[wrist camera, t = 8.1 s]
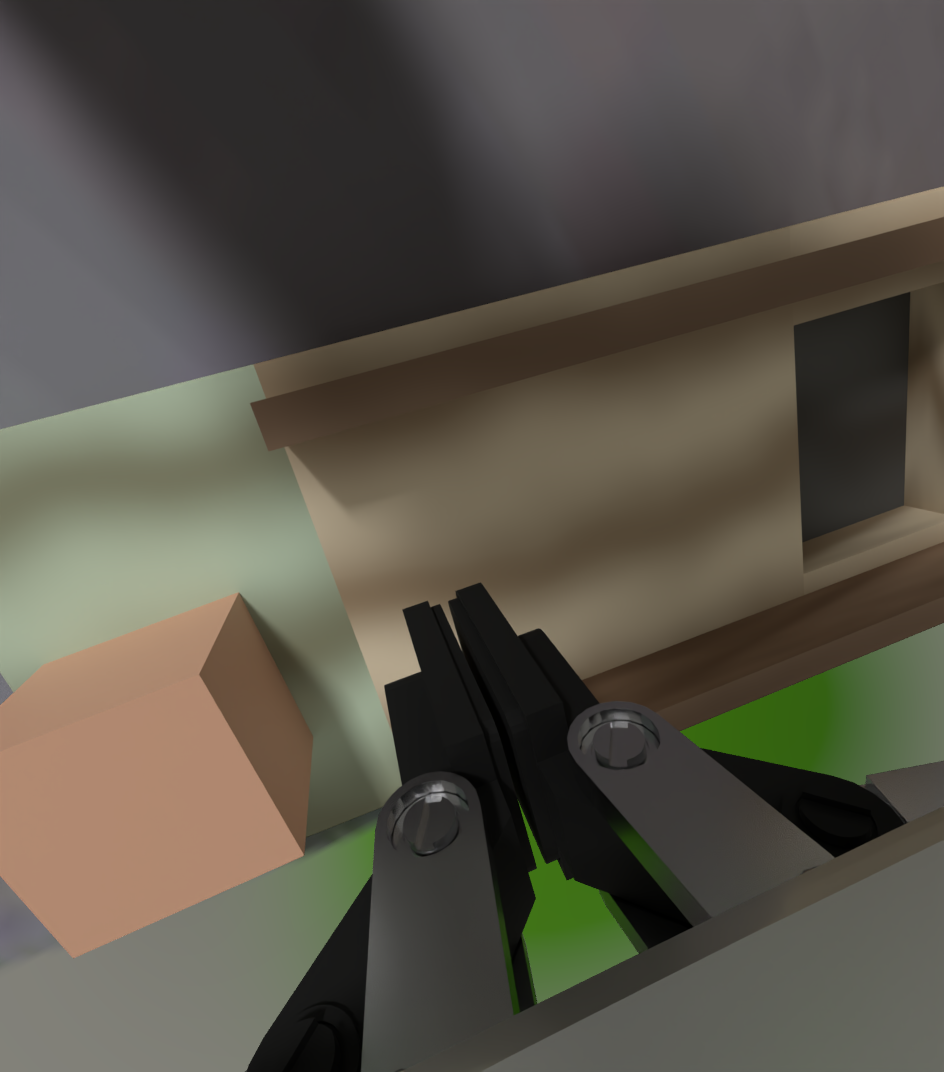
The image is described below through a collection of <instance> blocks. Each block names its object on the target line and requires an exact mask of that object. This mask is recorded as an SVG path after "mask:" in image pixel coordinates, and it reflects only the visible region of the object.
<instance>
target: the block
mask: <svg viewBox="0 0 944 1072" xmlns="http://www.w3.org/2000/svg"><path fill="white" fill-rule="evenodd" d="M312 747H313V735H312V733H311V731H310V729H309V727H308V726H307V724H306V722H305V720H304V718H303V716H302V714H301V712H300V710H299V708H298V706H297V704H296V702H295V700H294V698H293V696H292V694H291V692H290V691H289V689H288V687H287V685H286V683H285V681H284V679H283V677H282V675H281V673H280V671H279V669H278V667H277V665H276V663H275V661H274V659H273V658H272V656H271V654H270V652H269V650H268V648H267V646H266V644H265V642H264V640H263V638H262V636H261V634H260V632H259V630H258V628H257V626H256V625H255V623H254V621H253V619H252V617H251V615H250V613H249V611H248V609H247V607H246V605H245V603H244V601H243V599H242V597H241V595H240V593H239V592H238V593H235V594H232V595H230V596H227V597H224V598H222V599H219V600H216V601H214V602H211V603H208V604H205V605H203V606H200V607H197V608H195V609H192V610H189V611H187V612H184V613H181V614H178V615H176V616H173V617H170V618H168V619H165V620H162V621H160V622H157V623H154V624H151V625H149V626H146V627H143V628H141V629H138V630H135V631H133V632H130V633H127V634H124V635H122V636H119V637H116V638H114V639H111V640H108V641H106V642H103V643H100V644H97V645H95V646H92V647H89V648H87V649H84V650H81V651H79V652H76V653H73V654H71V655H68V656H65V657H62V658H60V659H57V660H54V661H52V662H49V663H46V664H44V665H42V666H41V667H40V668H39V669H38V670H37V671H36V672H35V673H34V674H33V675H32V676H31V677H30V678H29V679H28V680H26V681H25V682H24V683H23V684H22V685H21V686H20V687H19V688H18V689H17V690H16V691H15V692H14V693H13V694H12V695H11V696H10V697H9V698H7V699H6V700H5V701H4V702H3V703H2V704H1V705H0V876H1V877H2V878H3V880H4V881H5V882H6V883H7V884H8V885H9V886H10V887H11V889H12V890H13V891H14V892H15V893H16V894H17V895H18V897H19V898H20V899H21V900H22V901H23V902H24V903H25V904H26V906H27V907H28V908H29V909H30V910H31V911H32V912H33V914H34V915H35V916H36V917H37V918H38V919H39V920H40V921H41V923H42V924H43V925H44V926H45V927H46V928H47V929H48V930H49V932H50V933H51V934H52V935H53V936H54V937H55V938H56V940H57V941H58V942H59V943H60V944H61V945H62V946H63V947H64V949H65V950H66V951H67V952H68V953H69V954H70V955H71V957H73V958H75V957H78V956H80V955H82V954H84V953H86V952H89V951H91V950H93V949H96V948H98V947H100V946H102V945H104V944H107V943H109V942H111V941H113V940H116V939H118V938H120V937H122V936H125V935H127V934H129V933H131V932H134V931H136V930H138V929H140V928H142V927H145V926H147V925H149V924H152V923H154V922H156V921H158V920H161V919H163V918H165V917H167V916H170V915H172V914H174V913H176V912H179V911H181V910H183V909H185V908H188V907H190V906H192V905H194V904H197V903H199V902H201V901H203V900H206V899H208V898H210V897H212V896H215V895H217V894H219V893H221V892H223V891H226V890H228V889H230V888H232V887H235V886H237V885H239V884H241V883H244V882H246V881H248V880H250V879H253V878H255V877H257V876H259V875H262V874H264V873H266V872H268V871H271V870H273V869H275V868H277V867H280V866H282V865H284V864H286V863H289V862H291V861H293V860H295V859H298V858H300V857H302V856H304V853H305V840H306V826H307V813H308V800H309V787H310V774H311V761H312Z"/></svg>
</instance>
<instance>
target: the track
mask: <svg viewBox="0 0 944 1072" xmlns="http://www.w3.org/2000/svg"><path fill="white" fill-rule="evenodd" d="M480 582H481V583H482V584H483V586H484V587H485V589H486V590H487V592H488V593H489V594H490V596H491V597H492V599H493V600H494V602H495V603H496V605H497V606H498V608H499V609H500V611H501V612H502V614H503V615H504V617H505V618H506V619H507V621H508V622H509V624H510V625H511V627H512V628H513V630H514V631H515V633H516V634H517V636H519V635H521V634H524V633H527V632H530V631H532V630H535V629H538V628H539V629H541V630H542V631H543V632H544V633H545V634H546V635H547V636H548V638H549V639H550V640H551V642H552V643H553V644H554V645H555V647H556V648H557V649H558V651H559V652H560V653H561V654H562V656H563V657H564V658H565V659H566V661H567V662H568V663H569V665H570V666H571V667H572V668H573V670H574V671H575V672H576V674H577V675H578V676H579V677H580V679H581V680H582V681H583V682H584V684H585V685H586V686H587V688H588V689H589V690H590V691H591V693H592V694H593V695H594V697H595V698H596V699H597V700H598V702H599V703H605V702H612V701H624V702H632V703H636V704H639V705H642V706H645V707H647V708H649V709H650V710H652V711H654V712H655V713H657V714H658V715H660V716H661V717H662V718H663V719H665V720H666V721H667V722H668V723H670V724H671V725H672V726H673V727H674V728H676V729H677V730H678V731H681V730H684V729H686V728H689V727H691V726H694V725H696V724H698V723H701V722H703V721H706V720H708V719H711V718H713V717H715V716H718V715H720V714H723V713H725V712H728V711H730V710H732V709H735V708H737V707H740V706H742V705H745V704H747V703H749V702H752V701H754V700H757V699H759V698H762V697H764V696H767V695H769V694H771V693H774V692H776V691H779V690H781V689H783V688H786V687H789V686H791V685H793V684H796V683H798V682H801V681H803V680H806V679H808V678H810V677H813V676H815V675H818V674H820V673H823V672H825V671H827V670H830V669H832V668H835V667H837V666H840V665H842V664H844V663H847V662H849V661H852V660H854V659H857V658H859V657H862V656H864V655H866V654H869V653H871V652H874V651H876V650H878V649H881V648H883V647H886V646H888V645H891V644H893V643H896V642H898V641H900V640H903V639H905V638H908V637H910V636H913V635H915V634H917V633H920V632H922V631H925V630H927V629H930V628H932V627H935V626H937V625H939V624H942V623H944V187H940V188H936V189H932V190H928V191H924V192H920V193H916V194H912V195H909V196H905V197H901V198H897V199H893V200H889V201H885V202H881V203H878V204H874V205H870V206H866V207H862V208H858V209H854V210H850V211H846V212H843V213H839V214H835V215H831V216H827V217H823V218H819V219H815V220H812V221H808V222H804V223H800V224H796V225H792V226H788V227H784V228H780V229H777V230H773V231H769V232H765V233H761V234H757V235H753V236H749V237H746V238H742V239H738V240H734V241H730V242H726V243H722V244H718V245H714V246H711V247H707V248H703V249H699V250H695V251H691V252H687V253H683V254H680V255H676V256H672V257H668V258H664V259H660V260H656V261H652V262H648V263H645V264H641V265H637V266H633V267H629V268H625V269H621V270H617V271H614V272H610V273H606V274H602V275H598V276H594V277H590V278H586V279H582V280H579V281H575V282H571V283H567V284H563V285H559V286H555V287H551V288H548V289H544V290H540V291H536V292H532V293H528V294H524V295H520V296H516V297H513V298H509V299H505V300H501V301H497V302H493V303H489V304H485V305H482V306H478V307H474V308H470V309H466V310H462V311H458V312H454V313H450V314H447V315H443V316H439V317H435V318H431V319H427V320H423V321H419V322H416V323H412V324H408V325H404V326H400V327H396V328H392V329H388V330H384V331H381V332H377V333H373V334H369V335H365V336H361V337H357V338H353V339H350V340H346V341H342V342H338V343H334V344H330V345H326V346H322V347H318V348H315V349H311V350H307V351H303V352H299V353H295V354H291V355H287V356H284V357H280V358H276V359H272V360H268V361H264V362H260V363H256V364H252V365H249V366H245V367H241V368H237V369H233V370H229V371H225V372H221V373H218V374H214V375H210V376H206V377H202V378H198V379H194V380H190V381H186V382H183V383H179V384H175V385H171V386H167V387H163V388H159V389H155V390H152V391H148V392H144V393H140V394H136V395H132V396H128V397H124V398H121V399H117V400H113V401H109V402H105V403H101V404H97V405H93V406H89V407H86V408H82V409H78V410H74V411H70V412H66V413H62V414H58V415H55V416H51V417H47V418H43V419H39V420H35V421H31V422H27V423H23V424H20V425H16V426H12V427H8V428H4V429H0V673H1V674H2V676H3V677H4V679H5V680H6V682H7V683H8V685H9V686H10V688H11V689H12V691H13V692H15V691H16V690H17V689H18V688H19V687H20V686H21V685H22V684H23V683H24V682H25V681H26V680H28V679H29V678H30V677H31V676H32V675H33V674H34V673H35V672H36V671H37V670H38V669H39V668H40V667H41V666H42V665H44V664H46V663H49V662H52V661H54V660H57V659H60V658H62V657H65V656H68V655H71V654H73V653H76V652H79V651H81V650H84V649H87V648H89V647H92V646H95V645H97V644H100V643H103V642H106V641H108V640H111V639H114V638H116V637H119V636H122V635H124V634H127V633H130V632H133V631H135V630H138V629H141V628H143V627H146V626H149V625H151V624H154V623H157V622H160V621H162V620H165V619H168V618H170V617H173V616H176V615H178V614H181V613H184V612H187V611H189V610H192V609H195V608H197V607H200V606H203V605H205V604H208V603H211V602H214V601H216V600H219V599H222V598H224V597H227V596H230V595H232V594H235V593H238V592H239V593H240V595H241V597H242V599H243V601H244V603H245V605H246V607H247V609H248V611H249V613H250V615H251V617H252V619H253V621H254V623H255V625H256V626H257V628H258V630H259V632H260V634H261V636H262V638H263V640H264V642H265V644H266V646H267V648H268V650H269V652H270V654H271V656H272V658H273V659H274V661H275V663H276V665H277V667H278V669H279V671H280V673H281V675H282V677H283V679H284V681H285V683H286V685H287V687H288V689H289V691H290V692H291V694H292V696H293V698H294V700H295V702H296V704H297V706H298V708H299V710H300V712H301V714H302V716H303V718H304V720H305V722H306V724H307V726H308V727H309V729H310V731H311V733H312V735H313V747H312V761H311V774H310V787H309V800H308V813H307V826H306V837H308V836H311V835H313V834H316V833H318V832H321V831H323V830H326V829H328V828H331V827H334V826H336V825H339V824H341V823H344V822H346V821H349V820H351V819H354V818H356V817H359V816H361V815H364V814H366V813H369V812H371V811H374V810H376V809H379V808H381V807H383V806H384V804H385V803H386V801H387V800H388V799H389V798H390V797H391V795H392V794H393V793H394V792H395V791H396V790H397V789H398V788H399V787H401V786H402V783H401V778H400V772H399V767H398V761H397V756H396V750H395V745H394V739H393V734H392V728H391V723H390V717H389V712H388V706H387V701H386V695H385V689H384V685H386V684H388V683H391V682H394V681H396V680H399V679H402V678H405V677H407V676H410V675H413V674H416V673H418V672H421V669H420V666H419V663H418V660H417V656H416V653H415V650H414V647H413V643H412V640H411V637H410V633H409V630H408V627H407V624H406V620H405V617H404V614H403V611H402V609H405V608H408V607H411V606H413V605H416V604H419V603H422V602H425V601H428V602H429V605H430V607H432V606H435V605H438V604H440V605H441V607H442V609H443V611H444V613H445V615H446V617H447V620H448V622H449V624H450V626H451V628H452V630H453V633H454V635H455V637H456V639H457V641H458V643H459V646H460V642H459V639H458V635H457V632H456V629H455V625H454V622H453V618H452V615H451V612H450V608H449V604H448V601H449V600H452V599H455V598H457V597H456V591H457V590H460V589H463V588H465V587H468V586H471V585H474V584H477V583H480ZM460 648H461V646H460ZM461 650H462V649H461Z"/></svg>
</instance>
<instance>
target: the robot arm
mask: <svg viewBox="0 0 944 1072" xmlns="http://www.w3.org/2000/svg"><path fill="white" fill-rule="evenodd" d="M456 597H457V598H455V599H452V600H449V601H448V604H449V608H450V612H451V615H452V618H453V622H454V625H455V629H456V632H457V635H458V639H459V642H460V646H461V648H460V646H459V643H458V641H457V639H456V637H455V635H454V633H453V630H452V628H451V626H450V624H449V622H448V620H447V617H446V615H445V613H444V611H443V609H442V607H441V605H440V604H438V605H435V606H432V607H430V605H429V602H428V601H425V602H422V603H419V604H416V605H413V606H411V607H408V608H405V609H402V611H403V614H404V617H405V620H406V624H407V627H408V630H409V633H410V637H411V640H412V643H413V647H414V650H415V653H416V656H417V660H418V663H419V666H420V669H421V672H418V673H416V674H413V675H410V676H407V677H405V678H402V679H399V680H396V681H394V682H391V683H388V684H386V685H384V689H385V695H386V701H387V706H388V712H389V717H390V723H391V728H392V734H393V739H394V745H395V750H396V756H397V761H398V767H399V772H400V778H401V783H402V786H401V787H399V788H398V789H397V790H396V791H395V792H394V793H393V794H392V795H391V797H390V798H389V799H388V800H387V801H386V803H385V804H384V806H383V808H382V810H381V812H380V814H379V816H378V820H377V825H376V829H375V843H374V860H373V874H372V875H371V877H370V879H369V880H368V881H367V883H366V884H365V886H364V887H363V889H362V890H361V892H360V893H359V895H358V896H357V898H356V899H355V901H354V902H353V904H352V905H351V907H350V908H349V910H348V911H347V913H346V914H345V916H344V917H343V919H342V921H341V922H340V923H339V925H338V927H337V928H336V930H335V931H334V932H333V934H332V936H331V937H330V939H329V940H328V942H327V943H326V945H325V946H324V948H323V949H322V951H321V952H320V954H319V955H318V957H317V958H316V960H315V961H314V963H313V964H312V966H311V967H310V969H309V970H308V972H307V973H306V975H305V976H304V978H303V979H302V981H301V982H300V984H299V985H298V987H297V988H296V990H295V991H294V993H293V994H292V996H291V997H290V999H289V1000H288V1002H287V1003H286V1005H285V1006H284V1008H283V1009H282V1011H281V1012H280V1014H279V1015H278V1017H277V1018H276V1020H275V1022H274V1023H273V1025H272V1026H271V1027H270V1029H269V1031H268V1032H267V1034H266V1035H265V1037H264V1038H263V1040H262V1042H261V1044H260V1045H259V1047H258V1049H257V1051H256V1053H255V1055H254V1057H253V1058H252V1060H251V1062H250V1064H249V1066H248V1069H247V1070H246V1071H245V1072H944V761H941V762H935V763H929V764H925V765H919V766H914V767H908V768H903V769H898V770H892V771H887V772H882V773H877V774H871V775H866V784H865V785H857V784H855V783H853V782H850V781H847V780H844V779H841V778H838V777H834V776H831V775H826V774H821V773H817V772H811V771H807V770H802V769H797V768H792V767H788V766H783V765H778V764H774V763H769V762H764V761H760V760H755V759H750V758H745V757H741V756H736V755H731V754H726V753H721V752H717V751H712V750H707V749H702V748H699V747H698V746H697V745H695V744H694V743H693V742H692V741H690V740H689V739H688V738H687V737H686V736H684V735H683V734H682V733H681V732H679V731H678V730H677V729H676V728H674V727H673V726H672V725H671V724H670V723H668V722H667V721H666V720H665V719H663V718H662V717H661V716H660V715H658V714H657V713H655V712H654V711H652V710H650V709H649V708H647V707H645V706H642V705H639V704H636V703H632V702H624V701H612V702H605V703H599V702H598V700H597V699H596V698H595V697H594V695H593V694H592V693H591V691H590V690H589V689H588V688H587V686H586V685H585V684H584V682H583V681H582V680H581V679H580V677H579V676H578V675H577V674H576V672H575V671H574V670H573V668H572V667H571V666H570V665H569V663H568V662H567V661H566V659H565V658H564V657H563V656H562V654H561V653H560V652H559V651H558V649H557V648H556V647H555V645H554V644H553V643H552V642H551V640H550V639H549V638H548V636H547V635H546V634H545V633H544V632H543V631H542V630H541V629H539V628H538V629H535V630H532V631H530V632H527V633H524V634H521V635H519V636H517V634H516V633H515V631H514V630H513V628H512V627H511V625H510V624H509V622H508V621H507V619H506V618H505V617H504V615H503V614H502V612H501V611H500V609H499V608H498V606H497V605H496V603H495V602H494V600H493V599H492V597H491V596H490V594H489V593H488V592H487V590H486V589H485V587H484V586H483V584H482V583H481V582H480V583H477V584H474V585H471V586H468V587H465V588H463V589H460V590H457V591H456ZM461 649H462V650H461ZM518 801H519V803H520V805H521V808H522V810H523V812H524V815H525V817H526V819H527V822H528V824H529V826H530V829H531V831H532V833H533V836H534V838H535V840H536V842H537V845H538V847H539V849H540V851H541V854H542V856H543V858H544V860H545V862H546V864H548V863H550V862H552V861H555V860H558V862H559V864H560V867H561V869H562V871H563V873H564V875H565V877H566V880H569V879H571V878H573V877H574V880H575V881H578V882H580V883H583V884H586V885H588V886H591V887H594V888H596V889H599V892H600V895H601V897H602V899H603V901H604V903H605V905H606V907H607V908H608V910H609V911H610V913H611V914H612V915H613V917H614V918H615V919H616V921H617V923H618V924H619V925H620V927H621V928H622V930H623V931H624V933H625V934H626V936H627V937H628V939H629V940H630V941H631V943H632V944H633V946H634V947H635V949H636V950H637V952H638V953H639V954H638V955H636V956H634V957H632V958H630V959H628V960H626V961H623V962H621V963H619V964H618V965H616V966H613V967H611V968H609V969H608V970H605V971H603V972H601V973H599V974H597V975H595V976H593V977H591V978H589V979H587V980H585V981H583V982H581V983H579V984H577V985H575V986H573V987H571V988H569V989H567V990H565V991H563V992H561V993H559V994H557V995H555V996H553V997H550V998H549V999H547V1000H544V1001H543V1002H540V1003H537V998H536V994H535V988H534V983H533V978H532V973H531V968H530V963H529V958H528V953H527V947H526V943H525V940H524V937H523V934H522V932H523V929H524V927H525V924H526V922H527V919H528V917H529V914H530V912H531V909H532V907H533V904H534V901H535V899H536V897H535V894H534V891H533V887H532V884H531V881H530V877H529V874H528V872H530V871H532V870H534V869H536V868H537V867H536V863H535V859H534V856H533V852H532V849H531V845H530V842H529V838H528V835H527V831H526V827H525V824H524V820H523V817H522V813H521V810H520V806H519V803H518Z"/></svg>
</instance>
